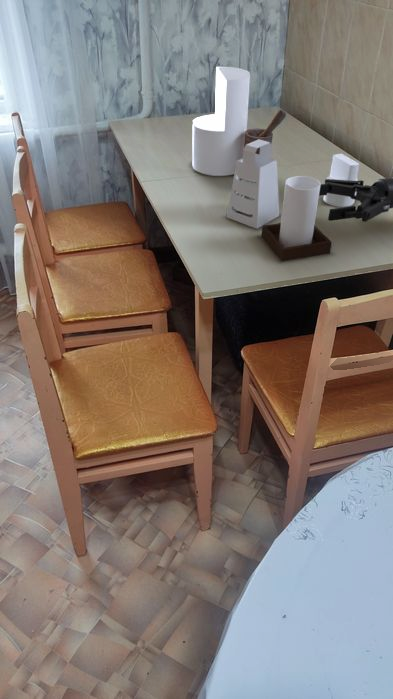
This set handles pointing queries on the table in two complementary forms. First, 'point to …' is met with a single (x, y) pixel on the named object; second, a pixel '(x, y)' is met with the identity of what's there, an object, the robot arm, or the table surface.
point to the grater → (255, 186)
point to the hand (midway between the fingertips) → (316, 203)
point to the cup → (299, 211)
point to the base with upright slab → (342, 178)
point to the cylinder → (222, 125)
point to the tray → (317, 248)
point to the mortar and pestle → (264, 131)
